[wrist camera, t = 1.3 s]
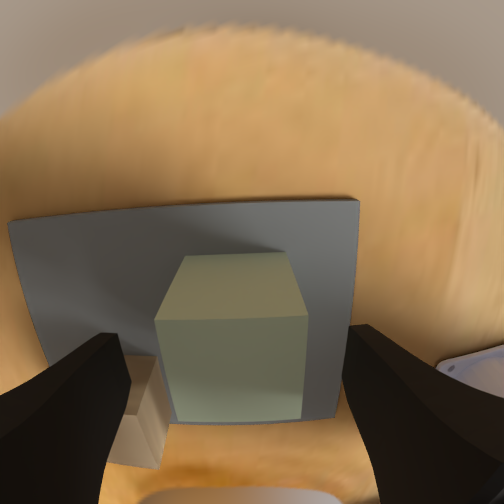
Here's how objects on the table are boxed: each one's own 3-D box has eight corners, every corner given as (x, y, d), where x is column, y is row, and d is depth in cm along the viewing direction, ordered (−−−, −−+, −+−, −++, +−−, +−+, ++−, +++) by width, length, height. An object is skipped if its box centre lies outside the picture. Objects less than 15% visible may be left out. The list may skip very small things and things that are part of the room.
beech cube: (157, 356, 14) (136, 415, 11) (171, 412, 16) (159, 469, 12) (85, 352, 14) (53, 403, 11) (106, 406, 16) (85, 457, 12)
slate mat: (356, 199, 13) (359, 201, 12) (333, 412, 16) (334, 417, 16) (11, 220, 12) (7, 222, 12) (72, 407, 16) (70, 411, 16)
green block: (285, 252, 13) (308, 315, 8) (284, 336, 14) (300, 418, 9) (185, 255, 13) (153, 319, 8) (195, 339, 14) (178, 421, 9)
